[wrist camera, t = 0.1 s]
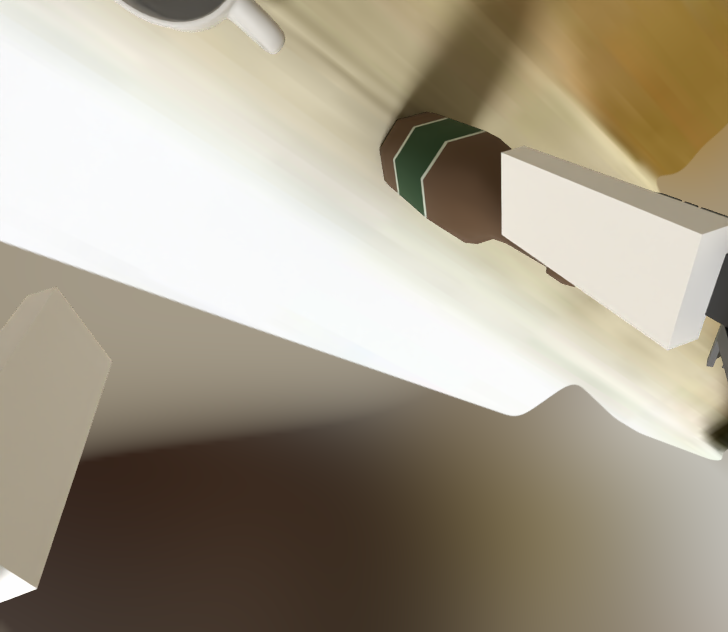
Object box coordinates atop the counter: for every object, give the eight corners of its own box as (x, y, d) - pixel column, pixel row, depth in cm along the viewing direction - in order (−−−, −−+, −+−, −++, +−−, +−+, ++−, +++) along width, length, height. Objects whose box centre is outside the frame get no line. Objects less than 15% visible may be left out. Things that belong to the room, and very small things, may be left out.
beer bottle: (386, 102, 37) (563, 170, 18) (462, 117, 40) (688, 191, 21) (368, 189, 41) (499, 323, 22) (439, 198, 44) (611, 325, 25)
